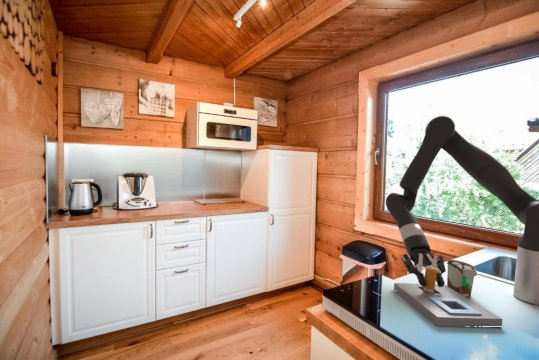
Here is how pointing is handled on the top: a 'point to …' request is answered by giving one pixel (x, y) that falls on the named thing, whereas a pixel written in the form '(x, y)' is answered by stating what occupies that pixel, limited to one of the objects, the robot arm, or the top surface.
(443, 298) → the board
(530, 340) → the top surface
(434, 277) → the supplement box
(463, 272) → the food container
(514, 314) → the top surface
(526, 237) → the robot arm
